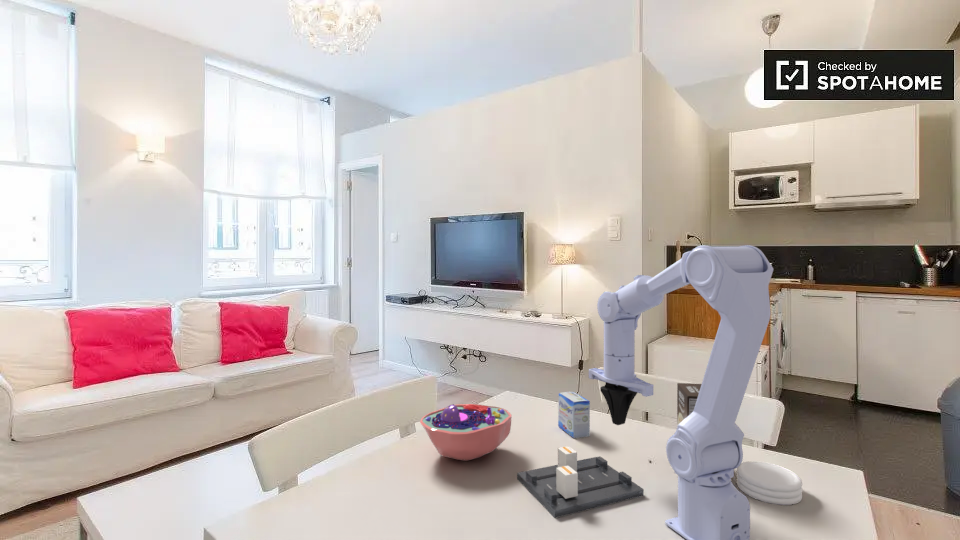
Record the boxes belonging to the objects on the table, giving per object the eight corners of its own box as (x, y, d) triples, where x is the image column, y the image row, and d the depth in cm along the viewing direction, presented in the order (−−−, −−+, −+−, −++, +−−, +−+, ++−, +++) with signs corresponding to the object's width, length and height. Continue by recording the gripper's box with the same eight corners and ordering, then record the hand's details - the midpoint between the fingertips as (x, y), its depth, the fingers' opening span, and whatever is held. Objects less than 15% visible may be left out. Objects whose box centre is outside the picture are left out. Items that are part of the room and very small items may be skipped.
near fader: (577, 495, 78) (577, 472, 78) (565, 498, 77) (565, 474, 77) (568, 487, 81) (568, 464, 81) (556, 490, 80) (556, 467, 80)
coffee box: (675, 457, 96) (676, 381, 95) (708, 460, 95) (709, 383, 94) (686, 478, 87) (686, 395, 86) (722, 481, 86) (723, 396, 85)
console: (643, 495, 81) (643, 482, 81) (555, 517, 74) (554, 503, 74) (596, 462, 94) (596, 451, 94) (517, 479, 87) (517, 466, 87)
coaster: (797, 485, 84) (797, 466, 84) (807, 512, 76) (807, 491, 75) (735, 473, 89) (735, 456, 89) (737, 498, 80) (738, 478, 80)
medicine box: (557, 427, 114) (557, 392, 113) (573, 424, 115) (573, 390, 115) (573, 439, 106) (573, 402, 106) (590, 436, 107) (590, 400, 107)
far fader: (577, 473, 86) (577, 451, 86) (566, 475, 85) (566, 453, 85) (568, 466, 89) (568, 445, 89) (557, 468, 88) (557, 447, 88)
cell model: (527, 460, 95) (527, 407, 95) (437, 481, 87) (436, 423, 86) (491, 432, 110) (490, 386, 110) (411, 448, 102) (410, 398, 101)
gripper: (664, 358, 84) (664, 431, 84) (605, 345, 96) (605, 408, 97) (638, 363, 80) (638, 439, 81) (580, 349, 93) (580, 415, 93)
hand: (618, 423), depth 89 cm, fingers closed
